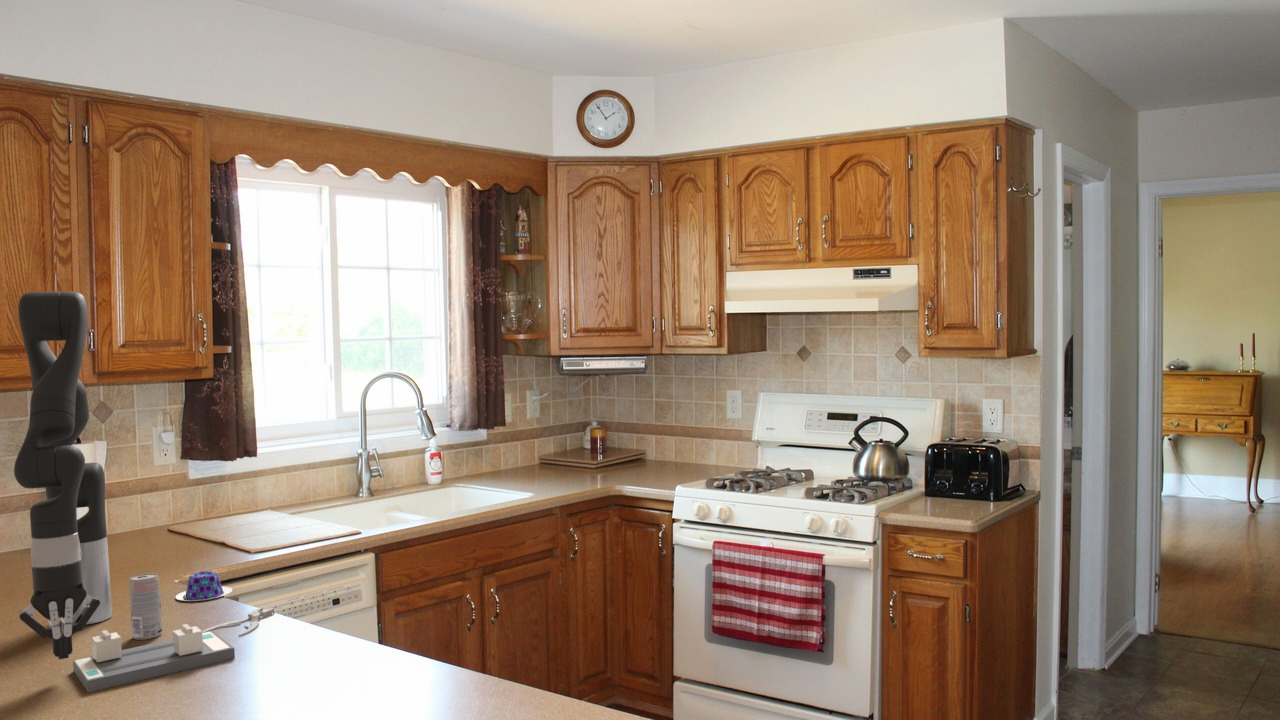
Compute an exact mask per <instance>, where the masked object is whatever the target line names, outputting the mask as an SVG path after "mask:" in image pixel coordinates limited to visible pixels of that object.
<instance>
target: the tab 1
mask: <svg viewBox="0 0 1280 720" xmlns="http://www.w3.org/2000/svg"><path fill="white" fill-rule="evenodd" d="M91 647H92V656H93V657H94V659H95V660H96V661H97V662H102V661H106V660H111V659H115V658H120V657H122V650H123V649H122V637H121V635H119V633H118V632H116V631H115V632H111V633H110V632H109V631H108V630H107V629H104V630H101V635H95V636H92V637H91Z"/></svg>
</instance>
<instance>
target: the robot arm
mask: <svg viewBox="0 0 1280 720" xmlns="http://www.w3.org/2000/svg"><path fill="white" fill-rule="evenodd" d="M17 311H18V312H17V313H18V314H17V315H18V321H19V326H20V330H21V336H22V339H23V340H22V341H23V343H24V347H25V352H26V356H27V360H28V365H29V370H30V379H31V387H32V393H31V397H30V405H29V406H30V409H29V422H28V424H29V425H28V429H27V432H26V435H25V438H24V441H23V443H22V445H21V447H20V448H19V449H20V450H19V451H18V454H17V456H16V459H15V461H14V468H13V474H14V475H13V476H14V477H15V480H16V481H17V482H16V483H18V485H20V486H21V488H22V487H23V488H24V489H28V490H29V489H30V490H31V489H32V490H33V489H42V488H43V489H44V488H45V494H46V499H45V500H42V501H39V502H36V503H35V504H33V505H32V506H31V508H30V511H29V519H30V532H31V533H30V534H31V542H30V543H31V544H30V560H31V574H32V578H31V579H32V588H33V589H32V590H33V591H32V596H31V598H30V603H29V605H27V606H26V607H25V608H24V609H22V610H19V612H18V613H17V616H18V617H19V619H20V620H21V621H22V622H23V623H24V624H25V625H26V626H28V627H29V628H30V629H32V630H33V631H34V632H35V633H36V634H38V635H39V636H40V637H41V638H43V639H46V638H49V639H51V644H52V645H51V646H52V654H53V656H54V657H55V658H57V659H58V660H65V659H68V658H69V656H70V655H72V653H73V635H74V634H75V633H77V632H81V631H82V630H83V629H84V627H86V626H87V625H91V624H96V623H100V622H103V621H106V620H108V619H110V618H112V617H113V612H112V611H113V610H112V609H113V608H112V590H111V577H110V575H111V574H110V561H109V548H108V547H109V546H108V545H109V544H108V530H107V521H106V518H107V517H106V478H105V471H104V468H103V466H102V464H100V463H99V462H86V458H85V455H84V453H83V452H82V450H81V449H80V448H79V447H77V446H75V445H73V444H75V442H76V440H77V439H78V438H79V437H80V436H81V434H82V433H83V431H84V429H85V428H86V426H87V424H88V421H89V419H90V410H89V403H88V402H89V400H88V393H87V389H86V387H85V385H84V383H83V382H82V381H81V380H80V379H79V377H80V371H81V366H82V361H83V357H84V351H85V344H86V340H87V332H88V326H89V325H88V324H89V323H88V321H89V315H88V307H87V302H86V298H85V296H84V295H83V294H81V293H80V292H77V291H76V292H75V291H32V292H26V293H24V294H22V295H21V297H20V299H19V301H18V309H17ZM47 341H48V342H50V341H53V342H55V341H58V342H59V341H65V343H64V346H63V347H62V350H61V352H60V353H59V355H57V356H58V357H57V356H56V355H55V354H54V353H53V351H52V350H51V347H50V345H49V344H48V342H47ZM79 508H88V510H87V512H86V513H84V515H83V516H81V517H80V518H78V517H77V515H78V513H77V510H78V509H79ZM35 610H36V612H38V613H39V614H40V615H42V617H43V618H45V619H46V620H48V624H49V628H46V627H45V626H43V625H42V624H41V623H40V622H39V621H37V620H36V619H35V618H36V616H37V615H36V612H35ZM60 618H61V627H60Z"/></svg>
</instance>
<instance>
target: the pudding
mask: <svg viewBox="0 0 1280 720" xmlns="http://www.w3.org/2000/svg"><path fill="white" fill-rule="evenodd" d="M232 591H233V588H232V587H231V586H230V587H229V586H223V585H222V583H221V581H220V578H219V575H218V572H215V571H213V570H210V571H208V570H207V571H206V570H204V571H198V572H194V573H192V574H190V576H189V577H188V581H187V585H186V590H185V591H181V592H180V593H177V594H176V596H175V599H176V600H178V601H184V602H198V601H208V600H213V599H217V598H221V597H224V596H226V595H229V594H230V593H232ZM184 595H186V596H185V599H186V600H184V599H183V596H184ZM187 599H188V600H187Z"/></svg>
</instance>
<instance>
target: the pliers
mask: <svg viewBox="0 0 1280 720" xmlns="http://www.w3.org/2000/svg"><path fill="white" fill-rule="evenodd" d="M272 613H273V614H272ZM274 614H275V608H273V607H271V608H268V609H264V607H262V606H261V607H257V608H255V609H253V610H252V611H250V612H249V613H248V614H247V617H245V618H241V619H238V620H237V619H236V620H232V621H228V622H223V623H219V624H217V625H214V626H211V627H209V628H206V629H204V630H201V631H202V633H204V632H209V631H216V630H218V629H221V628H231V627H233V628H234V627H237V626H241V625H242V624H244V628H246V629H245V630H244V631H243V632H241V633H239V634H238V637H239V636H241V637H243V635H244V636H246V635H248V634H250V633H252V632H254V631H255V630H257V629H258V627H259V626H260V622H259V621H261V620H262V619H266V618H268V617H270V616H272V615H274ZM248 621H250V625H247V622H248Z"/></svg>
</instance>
